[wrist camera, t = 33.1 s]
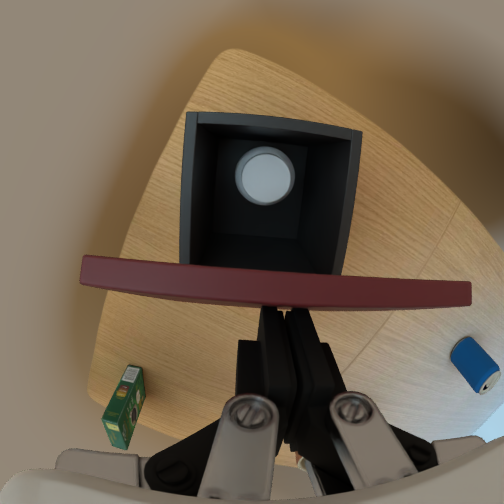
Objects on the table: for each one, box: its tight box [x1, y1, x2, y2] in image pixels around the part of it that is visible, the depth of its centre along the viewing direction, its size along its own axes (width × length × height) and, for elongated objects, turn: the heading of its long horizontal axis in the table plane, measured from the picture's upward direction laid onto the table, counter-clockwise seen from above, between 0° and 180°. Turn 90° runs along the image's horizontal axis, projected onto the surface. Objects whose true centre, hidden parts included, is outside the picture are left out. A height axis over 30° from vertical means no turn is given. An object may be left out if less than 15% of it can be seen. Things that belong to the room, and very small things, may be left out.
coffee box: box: [101, 365, 146, 450], centre depth 36 cm, size 8×3×13 cm, turn 171°
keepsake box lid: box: [80, 255, 472, 311], centre depth 13 cm, size 14×12×1 cm
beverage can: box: [451, 337, 501, 395], centre depth 36 cm, size 6×6×12 cm
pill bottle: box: [235, 146, 295, 205], centre depth 26 cm, size 5×5×10 cm
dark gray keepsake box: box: [179, 112, 363, 275], centre depth 25 cm, size 13×12×15 cm
